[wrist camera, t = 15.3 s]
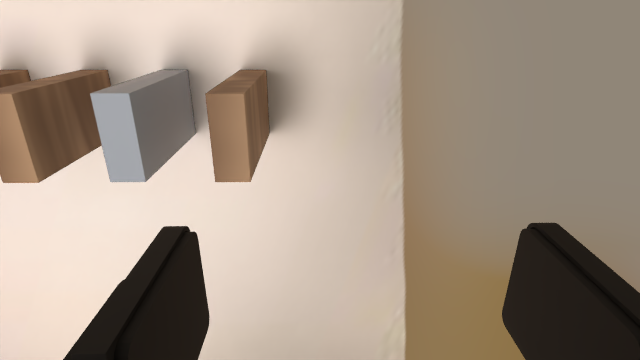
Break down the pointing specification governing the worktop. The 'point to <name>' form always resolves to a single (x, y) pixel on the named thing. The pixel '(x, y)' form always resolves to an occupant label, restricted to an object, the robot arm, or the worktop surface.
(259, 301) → the worktop surface
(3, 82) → the domino
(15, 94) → the domino
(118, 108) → the gap domino
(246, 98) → the domino
